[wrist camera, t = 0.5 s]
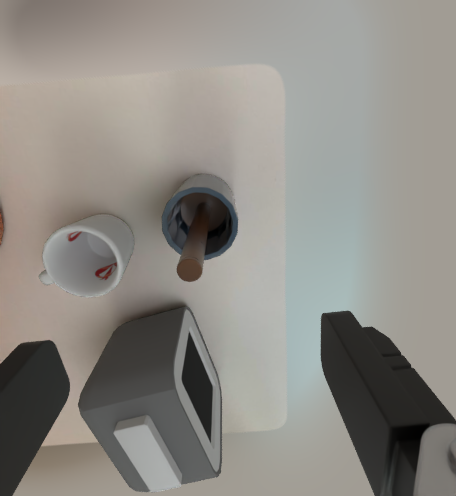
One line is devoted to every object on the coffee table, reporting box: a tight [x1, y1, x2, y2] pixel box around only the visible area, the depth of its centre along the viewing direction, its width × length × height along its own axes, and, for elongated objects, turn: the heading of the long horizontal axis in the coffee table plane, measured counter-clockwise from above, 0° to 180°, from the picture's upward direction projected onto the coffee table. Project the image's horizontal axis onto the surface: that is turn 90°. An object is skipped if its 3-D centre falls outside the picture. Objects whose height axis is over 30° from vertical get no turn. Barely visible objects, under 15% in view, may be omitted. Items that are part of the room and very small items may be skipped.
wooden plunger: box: [177, 193, 227, 282], centre depth 27 cm, size 5×5×18 cm
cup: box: [39, 214, 134, 297], centre depth 34 cm, size 11×8×8 cm
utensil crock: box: [162, 174, 238, 260], centre depth 32 cm, size 7×7×9 cm
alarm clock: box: [78, 306, 222, 492], centre depth 37 cm, size 16×11×16 cm
